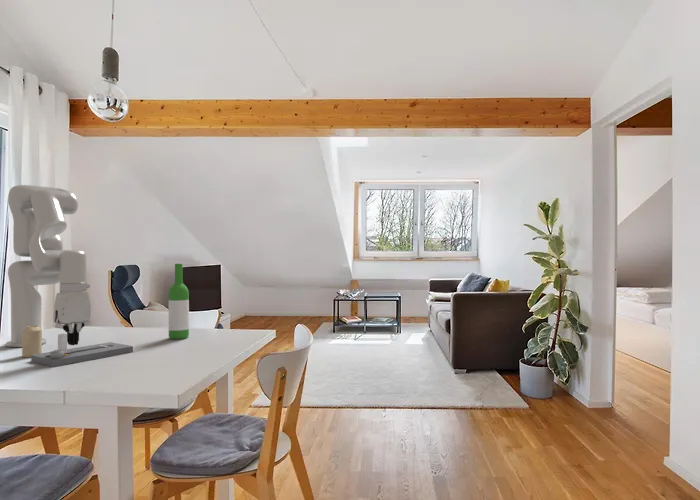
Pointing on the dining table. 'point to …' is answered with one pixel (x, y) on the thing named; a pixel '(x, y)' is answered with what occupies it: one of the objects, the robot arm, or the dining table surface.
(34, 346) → the candle
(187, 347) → the dining table surface
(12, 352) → the dining table surface
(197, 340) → the dining table surface
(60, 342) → the fader
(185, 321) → the wine bottle
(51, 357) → the console
